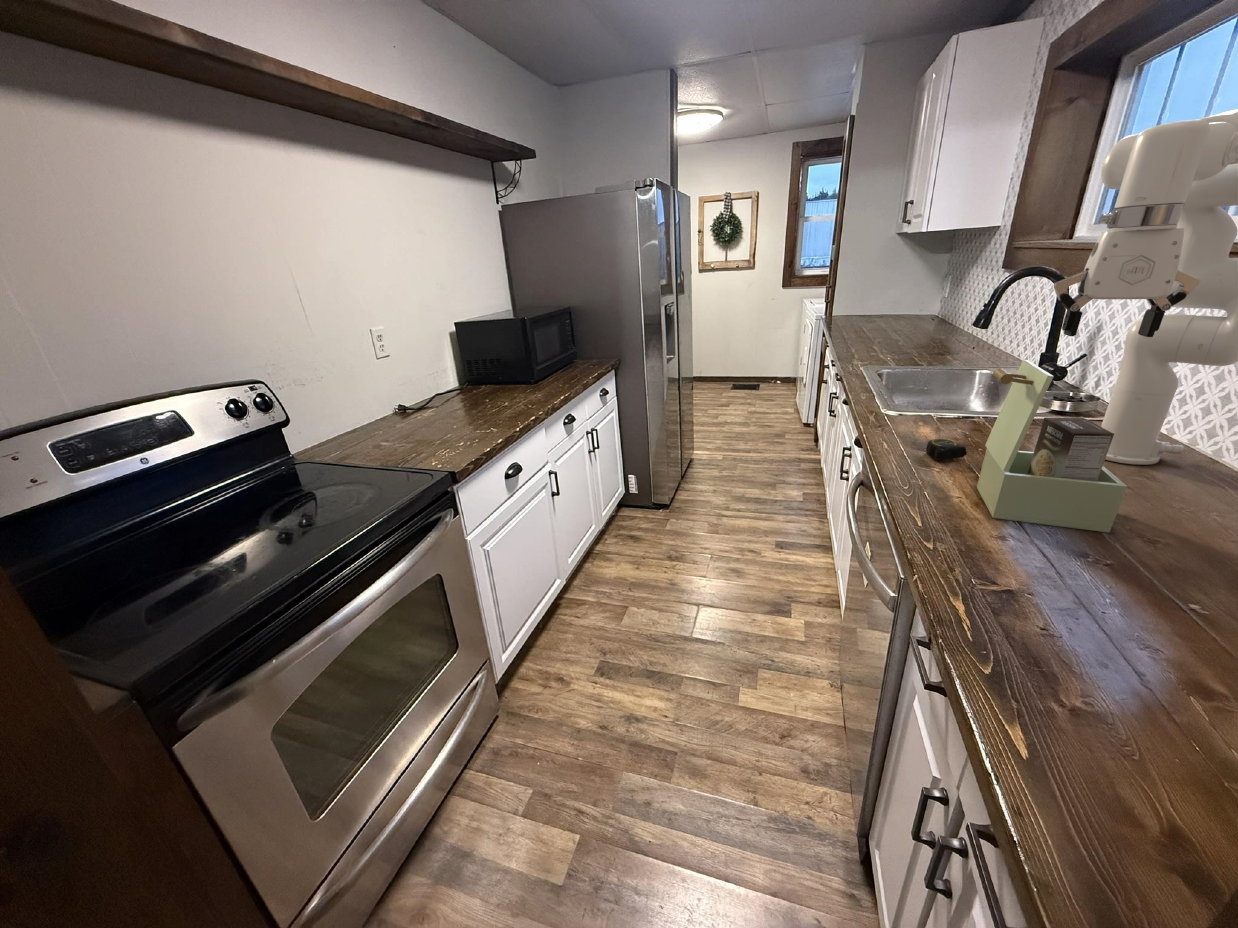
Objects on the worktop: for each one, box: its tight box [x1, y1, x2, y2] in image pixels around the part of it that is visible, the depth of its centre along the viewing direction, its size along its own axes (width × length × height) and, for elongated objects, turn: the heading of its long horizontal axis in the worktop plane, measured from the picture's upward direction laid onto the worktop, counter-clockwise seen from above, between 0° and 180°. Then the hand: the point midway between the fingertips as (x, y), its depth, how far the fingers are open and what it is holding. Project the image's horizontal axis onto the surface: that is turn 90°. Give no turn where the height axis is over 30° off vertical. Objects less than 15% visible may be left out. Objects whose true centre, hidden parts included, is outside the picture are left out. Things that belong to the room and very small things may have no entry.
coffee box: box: [1027, 417, 1114, 481], centre depth 90 cm, size 9×6×16 cm
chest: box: [976, 448, 1128, 534], centre depth 93 cm, size 17×14×9 cm
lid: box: [984, 359, 1054, 472], centre depth 91 cm, size 18×14×6 cm
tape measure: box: [925, 438, 968, 461], centre depth 118 cm, size 7×7×4 cm
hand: (1106, 335), depth 81 cm, fingers open, 9 cm apart
